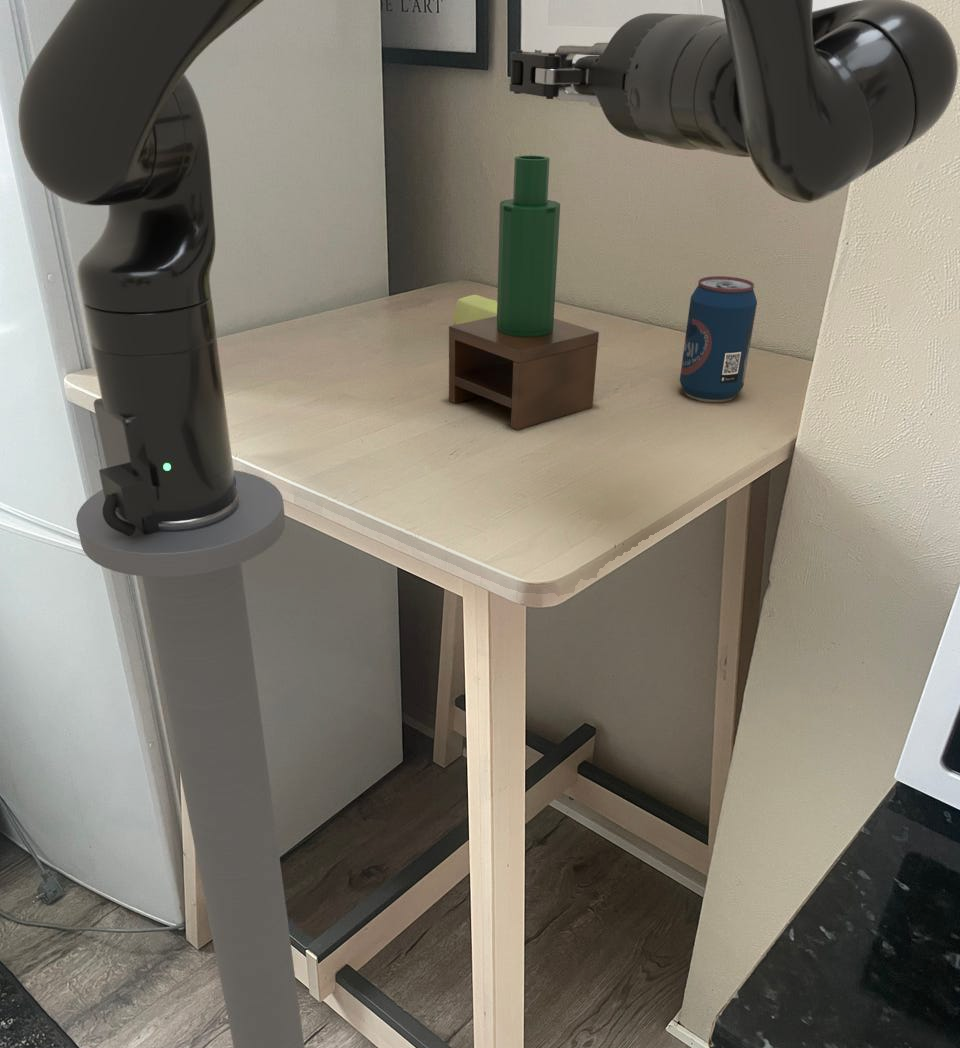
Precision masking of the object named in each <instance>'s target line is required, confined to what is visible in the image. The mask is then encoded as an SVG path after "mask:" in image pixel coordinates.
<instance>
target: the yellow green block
mask: <svg viewBox="0 0 960 1048" xmlns="http://www.w3.org/2000/svg"><path fill="white" fill-rule="evenodd" d="M495 316H497V300H494V299H491V298H487V297H484V296H481V295H478V294H470V295H467V296H463V297H461V298H458V300H457V302H456V304H455V310H454V313H453V318H452V324H453V325H457V324H462V323H466V322H471V321H476V320H480V319H485V318H490V317H495Z"/></svg>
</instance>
